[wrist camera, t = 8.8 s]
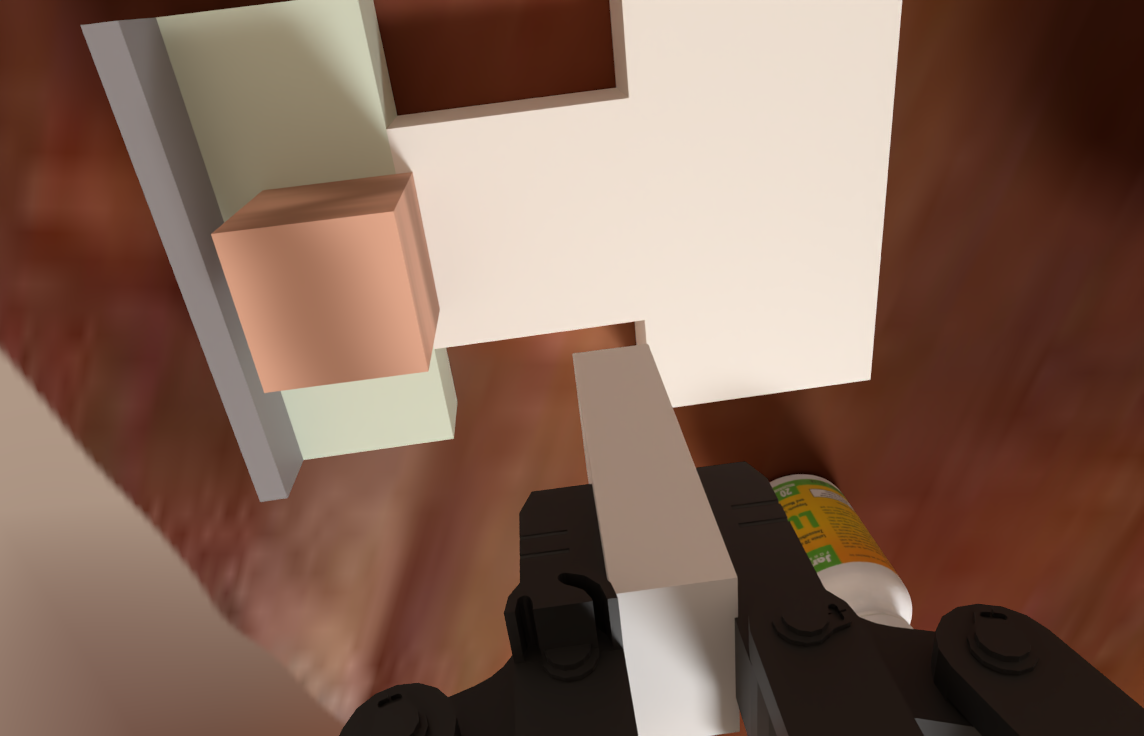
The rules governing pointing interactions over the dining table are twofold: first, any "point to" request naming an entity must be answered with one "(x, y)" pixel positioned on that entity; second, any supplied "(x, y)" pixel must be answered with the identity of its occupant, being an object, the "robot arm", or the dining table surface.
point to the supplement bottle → (843, 550)
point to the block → (332, 281)
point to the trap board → (536, 195)
